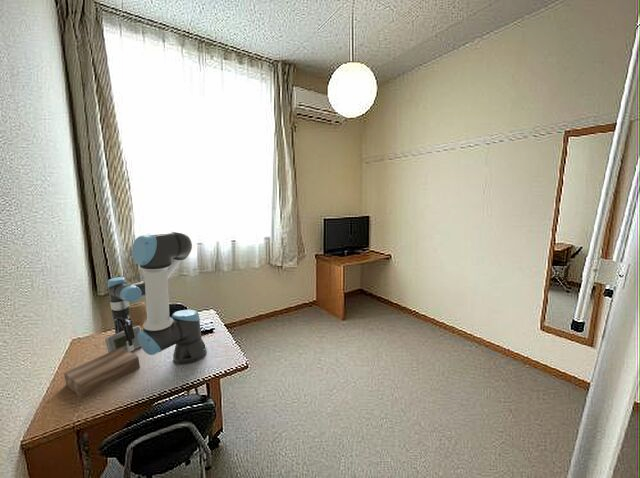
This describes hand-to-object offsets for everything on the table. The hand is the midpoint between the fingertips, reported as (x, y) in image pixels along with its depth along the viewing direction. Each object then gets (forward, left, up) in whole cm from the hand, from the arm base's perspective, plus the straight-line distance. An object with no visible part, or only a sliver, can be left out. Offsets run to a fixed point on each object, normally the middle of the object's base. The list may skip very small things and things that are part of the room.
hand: (127, 348), depth 146 cm
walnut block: (-14, +16, -1) cm, 21 cm away
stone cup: (+21, -17, -1) cm, 27 cm away
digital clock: (-1, 0, -1) cm, 1 cm away
